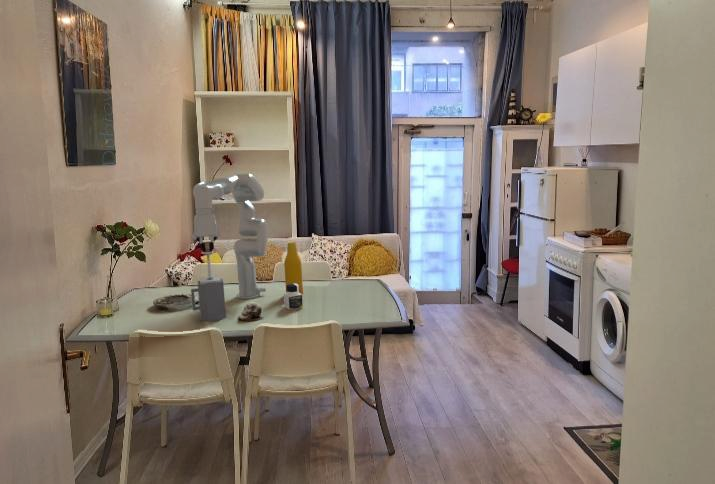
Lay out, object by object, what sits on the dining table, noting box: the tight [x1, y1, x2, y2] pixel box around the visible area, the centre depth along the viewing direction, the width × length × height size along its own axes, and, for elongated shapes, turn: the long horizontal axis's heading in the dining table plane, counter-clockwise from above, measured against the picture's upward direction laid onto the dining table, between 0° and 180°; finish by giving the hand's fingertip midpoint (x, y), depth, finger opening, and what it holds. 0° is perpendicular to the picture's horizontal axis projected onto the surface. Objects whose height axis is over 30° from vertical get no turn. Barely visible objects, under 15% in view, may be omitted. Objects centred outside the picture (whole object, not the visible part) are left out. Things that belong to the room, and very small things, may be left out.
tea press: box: [190, 275, 227, 323], centre depth 261 cm, size 15×12×19 cm
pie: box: [152, 293, 200, 312], centre depth 286 cm, size 28×27×5 cm
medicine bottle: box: [283, 283, 304, 311], centre depth 274 cm, size 7×7×12 cm
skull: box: [237, 301, 264, 322], centre depth 261 cm, size 12×10×10 cm
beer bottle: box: [283, 241, 304, 295], centre depth 297 cm, size 9×9×29 cm
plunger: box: [201, 241, 215, 284], centre depth 259 cm, size 8×8×23 cm
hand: (207, 250), depth 258 cm, fingers closed on plunger, 3 cm apart
